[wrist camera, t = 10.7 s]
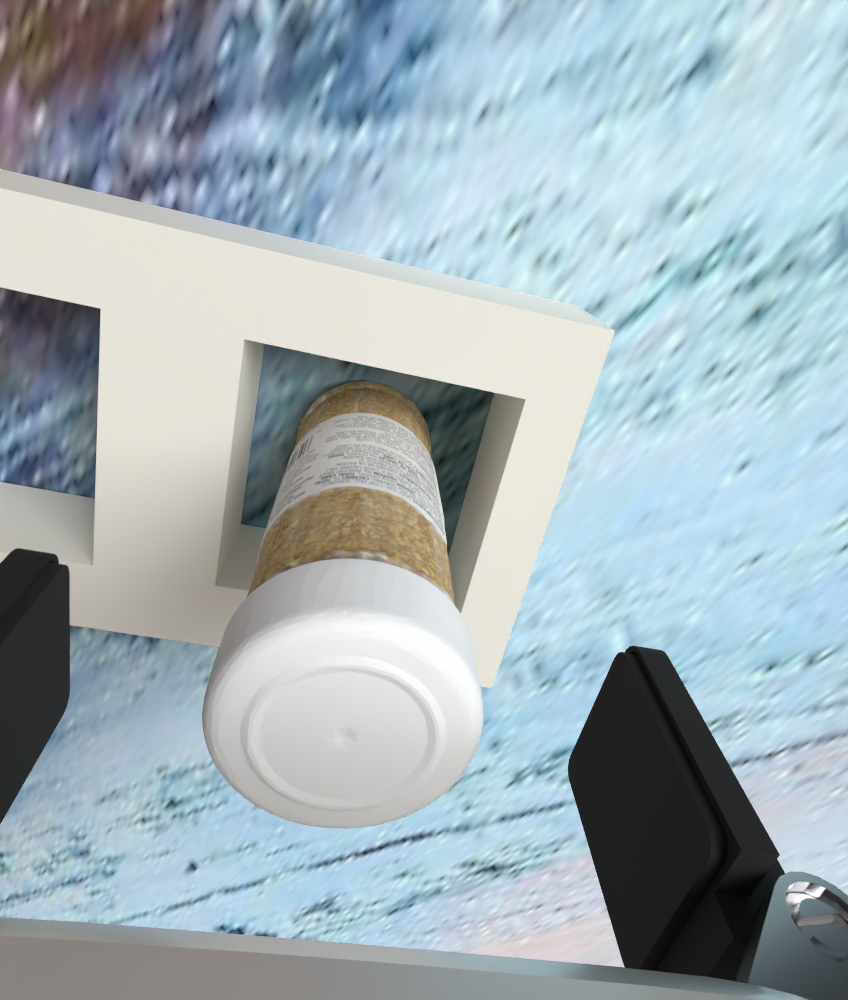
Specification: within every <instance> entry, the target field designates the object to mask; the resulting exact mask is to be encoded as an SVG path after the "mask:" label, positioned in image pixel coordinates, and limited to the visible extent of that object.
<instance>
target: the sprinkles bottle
mask: <svg viewBox="0 0 848 1000" xmlns="http://www.w3.org/2000/svg"><path fill="white" fill-rule="evenodd" d="M295 445H296V447H295V448H294V450H293V452H292V454H291V456H290V459H289V461H288V464H287V467H286V470H285V473H284V476H283V479H282V482H281V485H280V488H279V491H278V494H277V497H276V500H275V503H274V506H273V509H272V512H271V515H270V518H269V521H268V524H267V527H266V530H265V533H264V536H263V539H262V542H261V545H260V549H259V553H258V558H257V566H256V569H255V572H254V576H253V580H252V583H251V586H250V589H249V592H248V595H247V597H246V599H245V600H244V601H243V602H242V603H241V604H240V605H239V607H238V608H237V610H236V611H235V613H234V614H233V616H232V617H231V619H230V621H229V623H228V625H227V627H226V629H225V632H224V635H223V638H222V641H221V644H220V647H219V650H218V653H217V656H216V659H215V662H214V665H213V668H212V672H211V675H210V679H209V683H208V686H207V690H206V694H205V698H204V705H203V712H202V719H203V731H204V736H205V741H206V744H207V747H208V750H209V753H210V755H211V757H212V759H213V761H214V763H215V766H216V767H217V769H218V770H219V771H220V773H221V774H222V775H223V777H224V778H225V779H226V780H227V782H228V783H229V784H230V785H231V786H232V787H233V788H234V789H235V790H236V791H237V792H238V793H240V794H241V795H242V796H243V797H244V798H246V799H247V800H248V801H250V802H251V803H253V804H254V805H256V806H258V807H260V808H261V809H263V810H265V811H267V812H269V813H271V814H273V815H276V816H278V817H281V818H283V819H286V820H289V821H293V822H296V823H300V824H303V825H309V826H316V827H324V828H360V827H368V826H375V825H379V824H383V823H387V822H390V821H393V820H396V819H399V818H403V817H406V816H408V815H410V814H412V813H414V812H416V811H418V810H420V809H422V808H424V807H426V806H428V805H429V804H431V803H432V802H434V801H436V800H437V799H438V798H439V797H440V796H442V795H443V794H444V793H445V792H446V791H448V790H449V789H450V788H451V787H452V786H453V785H454V784H455V783H456V782H457V780H458V779H459V778H460V777H461V776H462V775H463V773H464V772H465V770H466V769H467V767H468V766H469V764H470V763H471V761H472V759H473V757H474V755H475V753H476V750H477V748H478V745H479V741H480V739H481V735H482V728H483V701H482V694H481V687H480V680H479V673H478V668H477V663H476V658H475V653H474V648H473V643H472V639H471V636H470V632H469V630H468V627H467V625H466V623H465V620H464V619H463V617H462V615H461V614H460V612H459V611H458V609H457V608H456V605H455V601H454V591H453V586H452V579H451V573H450V568H449V558H448V554H447V539H446V533H445V525H444V515H443V509H442V503H441V498H440V493H439V488H438V482H437V477H436V472H435V468H434V464H433V461H432V459H431V437H430V433H429V430H428V426H427V424H426V422H425V419H424V418H423V416H422V414H421V413H420V411H419V410H418V408H417V406H416V405H415V403H414V402H413V401H411V400H410V399H408V398H407V397H405V396H404V395H403V394H402V393H401V392H399V391H397V390H395V389H393V388H391V387H389V386H387V385H385V384H380V383H375V382H370V381H360V382H349V383H345V384H343V385H339V386H336V387H334V388H332V389H330V390H329V391H326V392H325V393H323V394H322V395H321V396H319V397H318V398H317V399H316V400H315V401H314V402H313V403H312V405H311V406H310V407H309V408H308V409H307V411H306V412H305V415H304V417H303V418H302V420H301V422H300V424H299V427H298V430H297V438H296V444H295Z"/></svg>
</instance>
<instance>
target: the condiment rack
mask: <svg viewBox="0 0 848 1000" xmlns="http://www.w3.org/2000/svg"><path fill="white" fill-rule="evenodd" d="M0 287H1V288H6V289H11V290H15V291H20V292H25V293H29V294H34V295H39V296H43V297H48V298H53V299H58V300H62V301H67V302H72V303H76V304H81V305H86V306H90V307H95V308H100V309H101V314H100V347H99V381H98V415H97V449H96V483H95V498H90V497H84V496H78V495H72V494H67V493H61V492H55V491H50V490H44V489H38V488H32V487H27V486H21V485H15V484H9V483H4V482H0V563H1V562H2V561H3V560H4V559H5V558H6V557H7V556H8V554H9V553H10V552H11V551H13V550H14V549H17V548H21V549H27V550H33V551H40V552H46V553H52V554H55V555H57V557H58V560H59V564H63V565H67V566H68V568H69V573H70V625H72V626H79V627H86V628H93V629H99V630H106V631H113V632H120V633H126V634H133V635H140V636H146V637H153V638H160V639H167V640H173V641H180V642H187V643H194V644H200V645H207V646H214V647H220V644H221V641H222V638H223V635H224V632H225V629H226V627H227V625H228V623H229V621H230V619H231V617H232V616H233V614H234V613H235V611H236V610H237V608H238V607H239V605H240V604H241V603H242V602H243V601H244V600H245V599H246V597H247V595H248V592H249V589H250V586H251V583H252V580H253V576H254V572H255V569H256V566H257V558H258V553H259V549H260V545H261V542H262V539H263V536H264V533H265V530H266V528H261V527H256V526H250V525H244V524H241V520H242V512H243V505H244V497H245V489H246V482H247V474H248V467H249V459H250V451H251V444H252V436H253V428H254V421H255V413H256V406H257V398H258V390H259V383H260V375H261V367H262V360H263V352H264V345H265V344H269V345H273V346H278V347H283V348H287V349H292V350H297V351H302V352H306V353H311V354H316V355H320V356H325V357H330V358H334V359H339V360H344V361H348V362H353V363H358V364H363V365H367V366H372V367H377V368H381V369H386V370H391V371H395V372H400V373H405V374H409V375H414V376H419V377H424V378H428V379H433V380H438V381H442V382H447V383H452V384H456V385H461V386H466V387H470V388H475V389H480V390H485V391H489V392H494V395H493V399H492V402H491V406H490V409H489V413H488V417H487V420H486V424H485V427H484V431H483V434H482V438H481V441H480V445H479V449H478V452H477V456H476V459H475V463H474V466H473V470H472V473H471V477H470V481H469V484H468V488H467V491H466V495H465V498H464V502H463V505H462V509H461V513H460V516H459V520H458V523H457V527H456V530H455V534H454V537H453V541H452V545H451V548H450V552H449V555H448V558H449V568H450V573H451V579H452V586H453V591H454V601H455V605H456V608H457V609H458V611H459V612H460V614H461V615H462V617H463V619H464V620H465V623H466V625H467V627H468V630H469V632H470V636H471V639H472V643H473V648H474V653H475V658H476V663H477V668H478V673H479V680H480V686H483V687H490V688H492V686H493V683H494V680H495V677H496V675H497V672H498V669H499V666H500V663H501V660H502V657H503V654H504V651H505V648H506V645H507V643H508V640H509V637H510V634H511V631H512V628H513V625H514V622H515V619H516V616H517V614H518V611H519V608H520V605H521V602H522V599H523V596H524V593H525V590H526V587H527V584H528V582H529V579H530V576H531V573H532V570H533V567H534V564H535V561H536V558H537V555H538V553H539V550H540V547H541V544H542V541H543V538H544V535H545V532H546V529H547V526H548V524H549V521H550V518H551V515H552V512H553V509H554V506H555V503H556V500H557V497H558V494H559V492H560V489H561V486H562V483H563V480H564V477H565V474H566V471H567V468H568V465H569V463H570V460H571V457H572V454H573V451H574V448H575V445H576V442H577V439H578V436H579V433H580V431H581V428H582V425H583V422H584V419H585V416H586V413H587V410H588V407H589V404H590V402H591V399H592V396H593V393H594V390H595V387H596V384H597V381H598V378H599V375H600V373H601V370H602V367H603V364H604V361H605V358H606V355H607V352H608V349H609V346H610V343H611V341H612V338H613V335H614V332H615V331H614V330H613V329H611V328H610V327H608V326H607V325H605V324H604V323H602V322H601V321H599V320H598V319H596V318H595V317H593V316H592V315H590V314H589V313H587V312H586V311H584V310H583V309H581V308H580V307H578V306H577V305H574V304H570V303H566V302H561V301H557V300H553V299H549V298H545V297H540V296H536V295H532V294H528V293H523V292H519V291H515V290H511V289H506V288H502V287H498V286H494V285H490V284H485V283H481V282H477V281H473V280H468V279H464V278H460V277H456V276H451V275H447V274H443V273H439V272H435V271H430V270H426V269H422V268H418V267H413V266H409V265H405V264H401V263H397V262H392V261H388V260H384V259H380V258H375V257H371V256H367V255H363V254H358V253H354V252H350V251H346V250H342V249H337V248H333V247H329V246H325V245H320V244H316V243H312V242H308V241H303V240H299V239H295V238H291V237H287V236H282V235H278V234H274V233H270V232H265V231H261V230H257V229H253V228H249V227H244V226H240V225H236V224H232V223H227V222H223V221H219V220H215V219H210V218H206V217H202V216H198V215H194V214H189V213H185V212H181V211H177V210H172V209H168V208H164V207H160V206H155V205H151V204H147V203H143V202H139V201H134V200H130V199H126V198H122V197H117V196H113V195H109V194H105V193H101V192H96V191H92V190H88V189H84V188H79V187H75V186H71V185H67V184H62V183H58V182H54V181H50V180H46V179H41V178H37V177H33V176H29V175H24V174H20V173H16V172H12V171H7V170H3V169H0Z"/></svg>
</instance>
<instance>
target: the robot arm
mask: <svg viewBox="0 0 848 1000" xmlns="http://www.w3.org/2000/svg"><path fill="white" fill-rule="evenodd" d="M69 692H70V573H69V568H68V566H67V565H63V564H59V560H58V557H57V555H55V554H52V553H46V552H40V551H33V550H27V549H21V548H17V549H14V550H13V551H11V552H10V553H9V554H8V556H7V557H6V558H5V559H4V560H3V561H2V562H1V563H0V824H1V822H2V820H3V818H4V817H5V815H6V813H7V812H8V810H9V808H10V806H11V805H12V803H13V801H14V799H15V798H16V796H17V794H18V792H19V791H20V789H21V787H22V785H23V784H24V782H25V780H26V778H27V777H28V775H29V773H30V772H31V770H32V768H33V766H34V765H35V763H36V761H37V759H38V758H39V756H40V754H41V752H42V751H43V749H44V747H45V745H46V744H47V742H48V740H49V738H50V737H51V735H52V733H53V732H54V730H55V728H56V726H57V725H58V723H59V721H60V719H61V718H62V716H63V714H64V712H65V709H66V706H67V703H68V699H69ZM568 776H569V781H570V784H571V787H572V791H573V794H574V798H575V801H576V804H577V808H578V811H579V814H580V818H581V821H582V825H583V828H584V831H585V835H586V838H587V842H588V845H589V848H590V852H591V855H592V859H593V862H594V865H595V869H596V872H597V876H598V879H599V882H600V886H601V889H602V893H603V896H604V899H605V903H606V906H607V910H608V913H609V916H610V920H611V923H612V927H613V930H614V933H615V937H616V940H617V944H618V947H619V950H620V954H621V957H622V961H623V963H624V966H625V968H622V967H612V966H601V965H590V964H579V963H568V962H556V961H545V960H534V959H523V958H512V957H500V956H489V955H478V954H467V953H455V952H444V951H432V950H420V949H408V948H396V947H384V946H372V945H361V944H348V943H336V942H324V941H312V940H300V939H288V938H276V937H264V936H251V935H238V934H225V933H213V932H200V931H187V930H174V929H161V928H148V927H135V926H122V925H110V924H97V923H84V922H69V921H53V920H36V919H20V918H3V917H0V1000H848V896H847V895H846V894H845V893H844V892H842V891H841V890H840V889H838V888H837V887H836V886H834V885H833V884H831V883H829V882H827V881H825V880H823V879H822V878H820V877H818V876H814V875H811V874H808V873H805V872H788V873H786V874H785V873H784V871H783V869H782V867H781V865H780V864H779V862H778V860H777V858H778V856H779V853H778V851H777V849H776V847H775V846H774V844H773V842H772V840H771V839H770V837H769V835H768V833H767V832H766V830H765V828H764V826H763V824H762V823H761V821H760V819H759V817H758V816H757V814H756V812H755V810H754V808H753V807H752V805H751V803H750V801H749V800H748V798H747V796H746V794H745V792H744V791H743V789H742V787H741V785H740V784H739V782H738V780H737V778H736V776H735V775H734V773H733V771H732V769H731V768H730V766H729V764H728V762H727V761H726V759H725V757H724V755H723V753H722V752H721V750H720V748H719V746H718V745H717V743H716V741H715V739H714V737H713V736H712V734H711V732H710V730H709V729H708V727H707V725H706V723H705V721H704V720H703V718H702V716H701V714H700V713H699V711H698V709H697V707H696V705H695V704H694V702H693V700H692V698H691V697H690V695H689V693H688V691H687V690H686V688H685V686H684V684H683V682H682V681H681V679H680V677H679V675H678V674H677V672H676V670H675V668H674V666H673V665H672V663H671V661H670V659H669V658H668V656H667V655H666V653H665V652H664V651H661V650H656V649H650V648H644V647H638V646H630V647H629V648H628V649H626V651H625V653H624V652H620V653H618V654H617V655H616V657H615V658H614V661H613V663H612V665H611V667H610V670H609V672H608V674H607V676H606V678H605V681H604V683H603V685H602V687H601V690H600V692H599V694H598V696H597V698H596V701H595V703H594V705H593V707H592V709H591V712H590V714H589V716H588V718H587V721H586V723H585V725H584V727H583V729H582V732H581V734H580V736H579V738H578V741H577V743H576V745H575V747H574V749H573V752H572V754H571V756H570V759H569V764H568Z"/></svg>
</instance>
